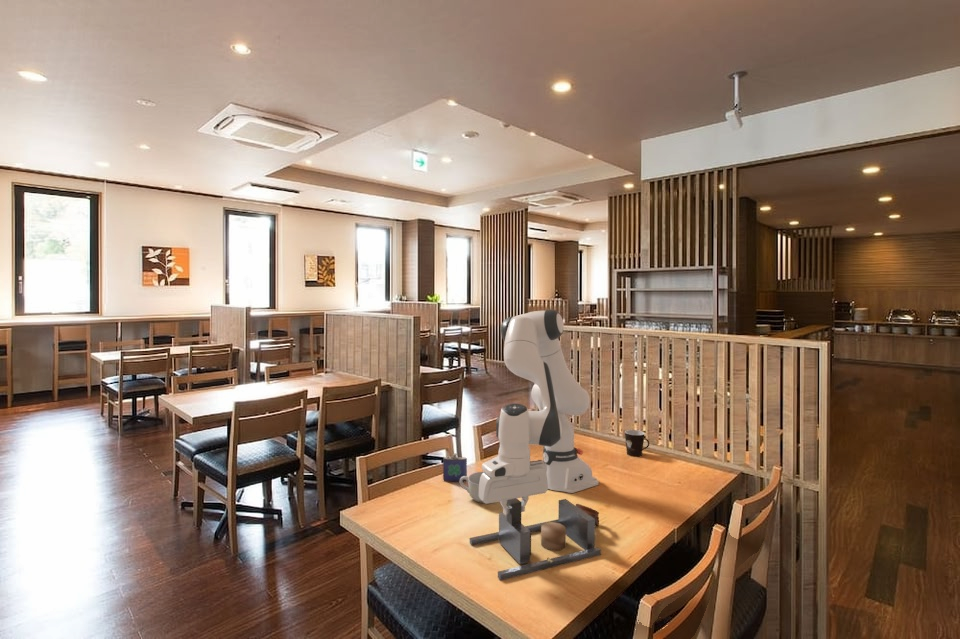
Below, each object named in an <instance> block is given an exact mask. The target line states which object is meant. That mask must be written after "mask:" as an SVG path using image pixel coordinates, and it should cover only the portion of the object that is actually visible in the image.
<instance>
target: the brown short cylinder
mask: <svg viewBox="0 0 960 639" xmlns="http://www.w3.org/2000/svg"><path fill="white" fill-rule="evenodd" d="M547 522H548V521H547ZM540 532H541V533H540V545H541V547H542V548H544V549H545V550H548V551H552V552H553V551H554V552H555V551H562V550H564V549H565V547H566V543H567V542H566V536H567V535H566V528H565V526H564V525H562V524H560V523H555V522H548V523H545V524H543V525H542V526H541V530H540Z"/></svg>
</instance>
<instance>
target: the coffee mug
mask: <svg viewBox="0 0 960 639" xmlns="http://www.w3.org/2000/svg"><path fill="white" fill-rule="evenodd" d="M645 433H646V432H645V431H642V430H639V429H638V430H636V429H626V430H625V431H624V438H625V447H626V454H627V456H630V457H636V458H639V457H641V456H642V455H643V450H646V449H647V448H649V446H650V441H649V439H647V438H645V435H646V434H645ZM644 441H646V442H647V445H646V446H645V447H644Z"/></svg>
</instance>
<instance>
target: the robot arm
mask: <svg viewBox="0 0 960 639" xmlns="http://www.w3.org/2000/svg"><path fill="white" fill-rule="evenodd" d="M564 324H565V323H564V320H563V317H562V315H561V313H560V312H559V311H557V309H550V308H549V309H546V310H536V311H534V310H533V311H529V312H527V313H522V314H519V315H514V316H509V317H507V318H505V319H504V320H503V321H502V323H501V325H500V335H501V338H502V340H503V342H504V344H503V360H504V365H505V367H506V368H507V369H508V371H509V372H511V373H512V374H514V375H515V376H517V377H519V378H523V379H524V380H527V381H530V382H532V383H533V386H532V388H531V393H530V394H531V395H530V396H531V399H532V401H533V402H534V404H535V405H536V407H537V409H538V410H529V408H528V407H527V406H526V405H524V404H521V403H508V404H505V405H504V406H502V407H501V409H500V414H499V416H498V417H497V418H496V421H495V425H496V426H495V427H496V430H495V432H496V435H495V437H497V438H496V439H497V440H498V441H499V448H498V454H497V455H496V456H495V457H493V458H491V459H489V460H487V461H485V462H483V463H482V464H481V470H482V472H484V473H482V475H481V477H480V481H479V498H480V499H481V500H482V501H483V502H484V503H483V504H486V505H487V504H493V503H498V502H499V504H500V505H501V507H502V513H504V514H505V515H509V514H511V512H510V511H511V509H510V508H509V507H508V506H507V500H510V499H515V498H517V499H520V498H521V500H520V501H521V513H523V512H526V505H527V503H528V502H529V499H530V497H532V496H535V495H541V494H546V493H547V491H548V490H551V491H556V492H563V493H569V494H573V493H576V492H577V493H578V492H580V491H583V490H587V489H590V488H592V487H593V488H594V487H596V486H599V484H600V483H599V479H597V478H596V477H595V476H593V469H592V468H591V466H590V465H589V464H588V463H587V462H586V461H584V460H583V459H582V458H580V457H579V456H578V455H580V456H582V455H583V453H584V450H583V449H581V448H576V446H575V429H574V426H573V424H572V423H571V422H570V421H569V419H568V417H567V415H568V416H581V415H583V414H585V413H586V412H587V410H588V409H589V406H590V402H591V400H590V395H589V392H588V391H587V390H586V389H584V388H583V387H582V386H581V385H580V383H578V381H577V380H576V379H575V377H574V376H573V374H572V373H571V370H569V367H568V365H567V362H566V359H565V355H564V353H563V349H562V346H561V343H560V340H559V338H560V337H561V336H562V334H563V333H564V326H565V325H564ZM530 445H534V446H535V445H536V446H541V447H542V449H543V450H542V458H543V460H542V459H538V460H531V450H530Z"/></svg>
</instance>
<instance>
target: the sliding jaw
mask: <svg viewBox="0 0 960 639" xmlns="http://www.w3.org/2000/svg"><path fill="white" fill-rule="evenodd" d="M506 506H508V507H509V508H510V509H511V511H510V512H511V514H509V515H505V514H504V513H503V512H500V513H498V532H499V540H498V543H499V544H500V545H501V546H502V547H503V548H504V549H505V550H506V551H507V552H508V554H509V555H511V558H513V559H514V560H515V561H516V562H517V563H518V564H519V565H526V564H530V563H531V556H532V532H531V533H530V531H529V530H528V529H527V528H526V527H525V525H523V523H522V512H521V500H519V498H515V499H510V500H507V503H506Z"/></svg>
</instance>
